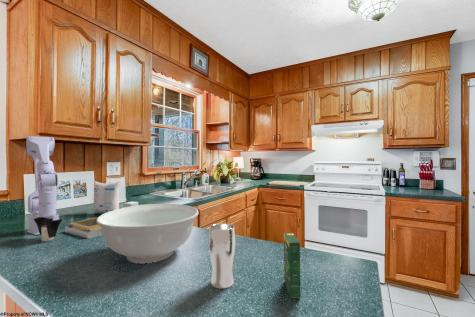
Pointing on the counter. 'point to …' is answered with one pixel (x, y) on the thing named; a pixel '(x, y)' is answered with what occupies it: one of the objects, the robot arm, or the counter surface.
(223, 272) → the silver metal tumbler
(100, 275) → the counter surface
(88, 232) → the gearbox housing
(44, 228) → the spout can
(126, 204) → the skincare box
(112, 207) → the pouch
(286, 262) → the coffee box
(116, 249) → the bowl
